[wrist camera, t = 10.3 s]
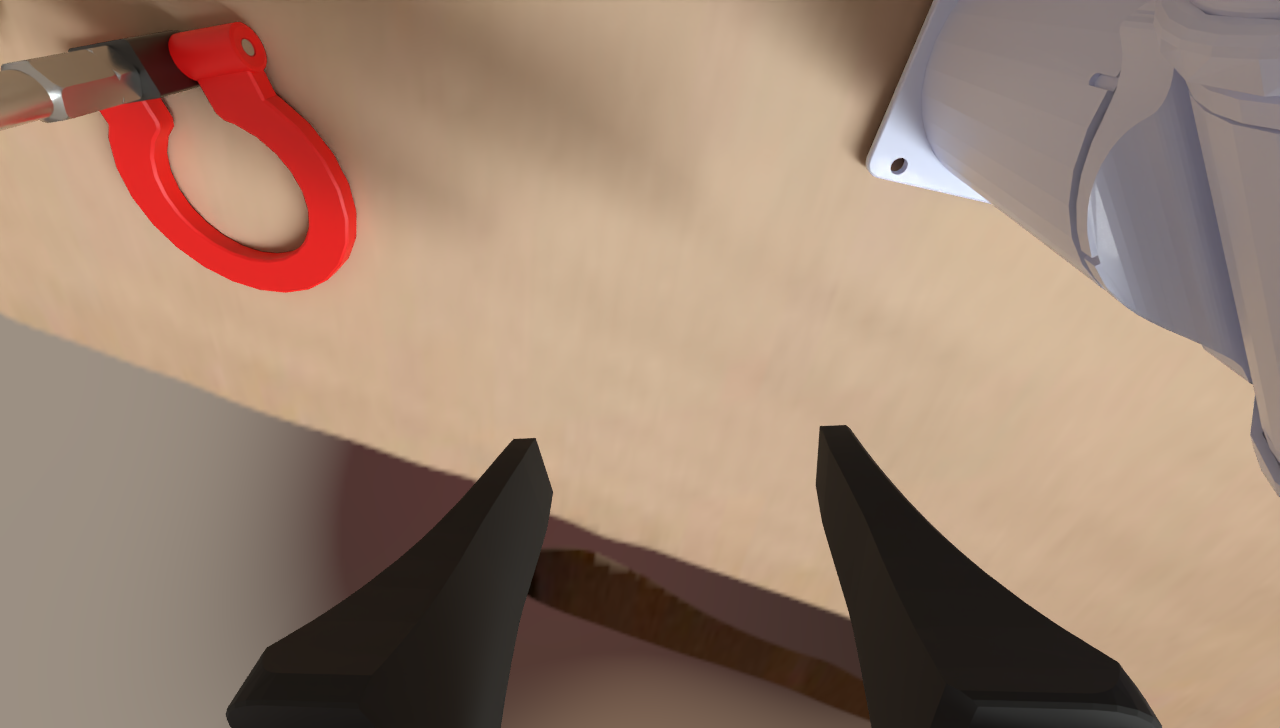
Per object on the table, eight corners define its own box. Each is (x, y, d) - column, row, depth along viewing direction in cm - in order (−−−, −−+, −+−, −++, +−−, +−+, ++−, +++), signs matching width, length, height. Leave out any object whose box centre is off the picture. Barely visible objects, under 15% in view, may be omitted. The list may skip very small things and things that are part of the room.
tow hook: (397, 270, 23) (277, 10, 17) (155, 534, 13) (-322, 112, 7) (224, 287, 24) (60, 51, 19) (-120, 538, 14) (-701, 184, 9)
